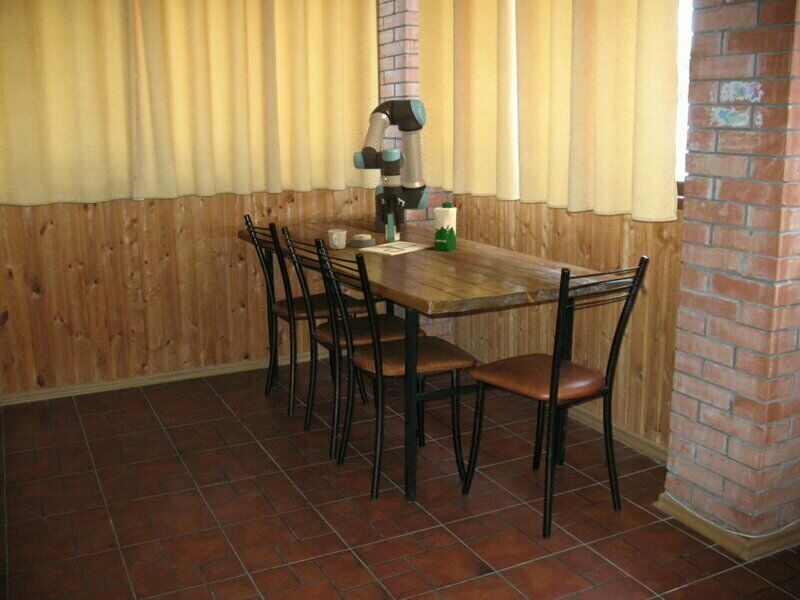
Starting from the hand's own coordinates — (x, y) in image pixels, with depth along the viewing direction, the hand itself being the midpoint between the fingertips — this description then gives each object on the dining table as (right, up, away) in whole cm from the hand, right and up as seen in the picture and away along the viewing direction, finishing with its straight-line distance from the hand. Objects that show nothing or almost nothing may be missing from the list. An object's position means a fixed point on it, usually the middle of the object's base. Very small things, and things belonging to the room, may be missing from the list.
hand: (392, 239), depth 377 cm
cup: (-24, -4, +4) cm, 25 cm away
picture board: (+1, -4, +2) cm, 5 cm away
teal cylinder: (0, -1, 0) cm, 1 cm away
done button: (-14, 0, +12) cm, 18 cm away
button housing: (-13, -2, +13) cm, 19 cm away
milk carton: (+23, -5, -1) cm, 23 cm away
